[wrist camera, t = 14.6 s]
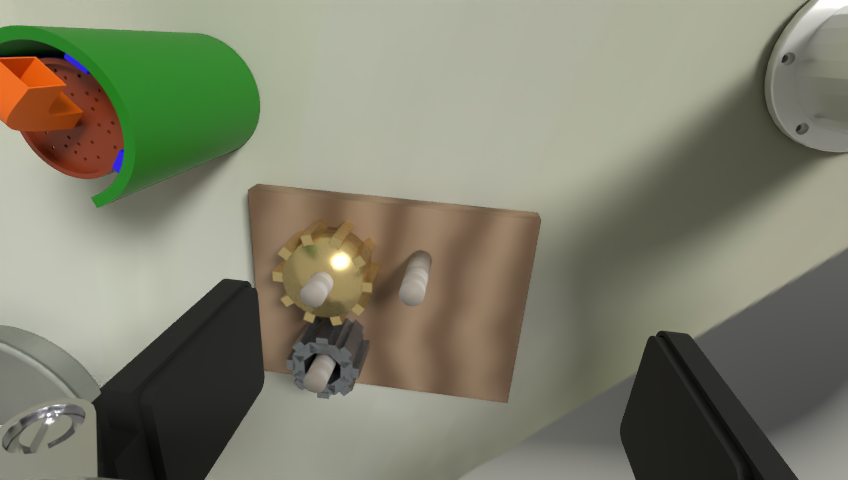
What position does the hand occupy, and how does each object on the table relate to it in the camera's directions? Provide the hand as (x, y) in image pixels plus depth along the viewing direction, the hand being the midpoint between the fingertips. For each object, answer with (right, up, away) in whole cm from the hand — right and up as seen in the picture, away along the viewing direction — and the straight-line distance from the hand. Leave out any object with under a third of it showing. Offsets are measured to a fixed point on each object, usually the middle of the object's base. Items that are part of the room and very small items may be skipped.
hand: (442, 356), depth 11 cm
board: (-4, -3, +34) cm, 35 cm away
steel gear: (-9, -7, +35) cm, 37 cm away
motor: (-19, +16, +29) cm, 38 cm away
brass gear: (-9, +1, +32) cm, 33 cm away
